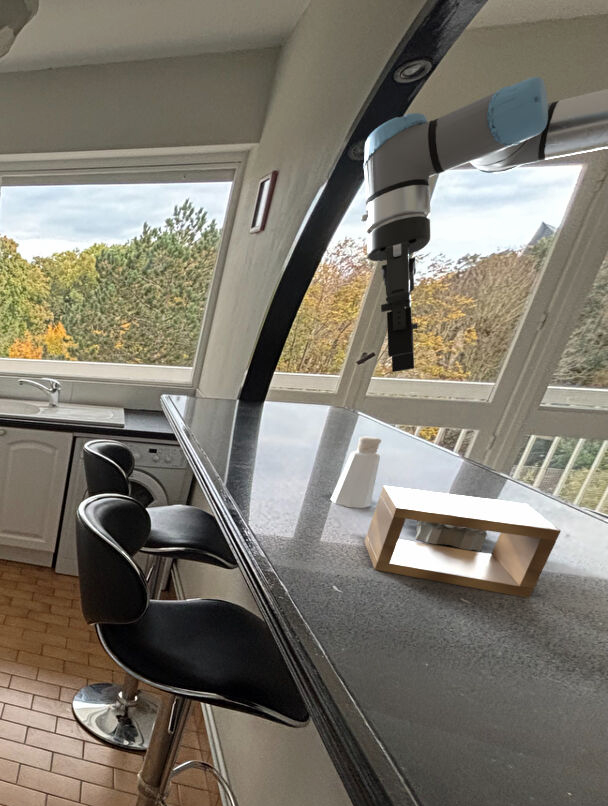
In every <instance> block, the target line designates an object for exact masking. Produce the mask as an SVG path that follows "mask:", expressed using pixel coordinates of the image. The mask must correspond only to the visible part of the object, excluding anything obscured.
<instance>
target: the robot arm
mask: <svg viewBox="0 0 608 806" xmlns="http://www.w3.org/2000/svg"><path fill="white" fill-rule="evenodd" d="M604 149H608V88H606V89H605V88H604V89H601V90H597V91H593V92H588V93H585V94H580V95H576V96H572V97H568V98H563V99H560V100H558V101H553V102H548V95H547V88H546V85H545V81H544V79H543V77H540V76H532V77H529V78H527V79H524V80H522V81H519V82H517V83H514V84H512V85H507V86H504V87H502V88H500V89H498V90H497V91H495V92H493V93H491V94H489V95H487V96H484V97H482V98H480V99H477V100H475V101H473V102H471V103H469V104H466V105H465V106H462V107H459V108H458V109H456V110H454V111H451V112H449V113H446V114H444V115H442V116H440V117H438V118H436V119H431V120H429V121H428V119H427V116H426V115H425V114H423V113H420V112H419V113H418V112H410V113H406V114H405V115H403V116H400V117H399V116H396V117H393V118H391V119H389V120H387V121H386V122H384V123H382V124H380V125H379V126H378V127H377V128H375V129H374V130H372V132H370V133H369V135H368V136H367V139H366V141H365V143H364V160H363V161H364V162H363V166H362V169H363V172H364V173H363V174H364V190H365V209H366V210H365V211H366V213H365V214H363V215H362V216H361V218H360V221H361V222H366V232H367V233H368V235H367V237H366V256H367V259H368V260H370V261H373V262H383V261H386V264H383V265H381V275H382V281H383V285H384V287H385V296H386V297H385V302H386V303H383V304H381V305H380V312H381V313H384V312H386V324H387V325H386V327H387V328H386V329H387V355H388V356H387V357H388V358H391V367H392V368H391V371H392V373H396V372H403V371H409V370H413V369H415V353H414V352H415V351H414V330H416V329H419V323H418V322H415V323H414V322H413V320H412V319H413V318H412V317H413V316H412V298H411V297H412V296H411V295H412V294H411V293H412V292H413V291H414V290H415V275H416V273H417V265H416V263H417V261H416V256H413V257H409V256H410V255H412V254H414V253H417V252H419V251H421V250H423V249H425V248H427V246H428V245H430V243H431V240H432V236H431V235H432V234H431V233H432V232H431V231H432V230H431V219H430V218H429V216H430V215H431V188H430V178H431V177H433V176H437V175H439V174H442V173H445V172H446V171H449V170H452V169H455V168H457V167H460V166H462V165H465V164H468V163H470V164H471V165H472V166H473V167H474V168H475V169H477V170H479V171H480V172H482V173H485V174H486V173H487V174H501V173H506V172H510V171H512V170H514V169H516V168H518V167H519V168H520V167H521V166H522V165H527V164H532V163H533V164H534V163H537V162H541V161H546V160H551V159H556V158H562V157H566V156H572V155H578V154H582V153H583V154H584V153H588V152H593V151H598V150H599V151H600V150H604Z"/></svg>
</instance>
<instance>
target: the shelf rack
mask: <svg viewBox="0 0 608 806" xmlns="http://www.w3.org/2000/svg"><path fill="white" fill-rule="evenodd" d="M380 491H381V492H380V495H379V497H378V499H377V503H376V506H375V509H374V512H373V515H372V519H371V521H370V523H369V527H368V530H367V533H366V535H365V538H364V545H365V548H366V550H367V554H368V555H369V558H370V561H371V564H372V567H373V569H374V570H375V571H378V572H384V573H389V574H395V575H399V576H400V575H401V576H407V577H411V578H417V579H422V580H428V581H432V582H433V581H434V582H440V583H443V584H450V585H455V586H460V587H466V588H471V589H472V588H473V589H478V590H483V591H488V592H494V593H500V594H504V595H510V596H516V597H521V598H526V599H530V598H531V596H532V594H533V591H534V589H535V587H536V585H537V583H538V581H539V579H540V576H541V574H542V573H543V570H544V568H545V566H546V564H547V561H548V560H549V557H550V555H551V553H552V552H553V549H554V547H555V544H556V542H557V540H558V538H559V536H560V533H561V531H562V530H561V529H559V528H558V527H557V526H555V525H554V524H553V523H551V522H550V521H549V520H548V519H547V518H545V517H544V516H543V515H541V514H540V513H539V512H538V511H537V510H535V509H534V508H533V507H531V506H530V505H529V504H528V503H523V502H515V501H507V500H500V499H492V498H484V497H476V496H468V495H460V494H452V493H444V492H436V491H428V490H422V489H421V490H420V489H414V488H412V489H411V488H404V487H395V486H388V485H382V489H381V490H380ZM406 520H411V521H417V520H418V521H424V522H431V523H438V524H445V525H452V526H459V527H466V528H472V529H479V530H486V532H493V533H499V536H498V538H497V539H496V543H495V545H494V548H493V549H492V552H491V553H487V552H481V551H476V550H466V549H461V548H457V547H449V546H448V547H447V546H443V545H438V544H436V545H435V544H432V543H426V542H418V541H411V540H405V539H400V537H401V534H402V530H403V527H404V525H405V522H406Z"/></svg>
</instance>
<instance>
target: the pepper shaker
mask: <svg viewBox="0 0 608 806" xmlns="http://www.w3.org/2000/svg"><path fill="white" fill-rule="evenodd" d="M381 442H382V439H381V438H379V437H375V436H361V437H359V438H358V444H357V448H356V450H354V451H351V453H350V454H349V456H348V458H347V461H346V463H345V465H344V468H343V469H342V472H341V474H340V475H339V479H338V481H337V483H336V486H335V487H334V490H333V492H332V494H331V496H330V501H331V502H333V504H335V505H338V506H343V507H346V508H356V509H367V508H369V507H371V505H372V499H373V495H374V490H375V485H376V480H377V475H378V469H379V464H380V458H381V455H380V454H378V453H377V452H378V449H379V446H380V444H381Z"/></svg>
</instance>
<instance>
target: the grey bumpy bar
mask: <svg viewBox="0 0 608 806" xmlns="http://www.w3.org/2000/svg"><path fill="white" fill-rule="evenodd" d="M415 526H416V529H415V531H416V535H415V539H416V540H417V541H422V542H423V543H425V544H431V545H445V546H446V545H447V546H451V547H453V548H457V549H462V550H468V551H477V552H481V550H482V547H483V545H484V543H485V540H486V538H487V535H488V533H487V531H486V530H479V529H472V528H466V527H459V526H452V525H445V524H438V523H431V522H424V521H418V520H416V525H415Z"/></svg>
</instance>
